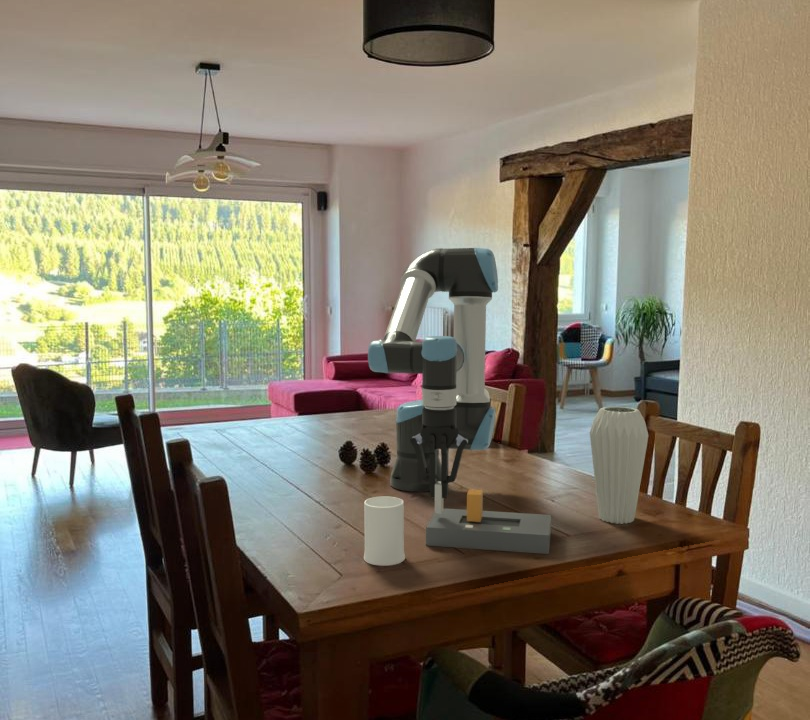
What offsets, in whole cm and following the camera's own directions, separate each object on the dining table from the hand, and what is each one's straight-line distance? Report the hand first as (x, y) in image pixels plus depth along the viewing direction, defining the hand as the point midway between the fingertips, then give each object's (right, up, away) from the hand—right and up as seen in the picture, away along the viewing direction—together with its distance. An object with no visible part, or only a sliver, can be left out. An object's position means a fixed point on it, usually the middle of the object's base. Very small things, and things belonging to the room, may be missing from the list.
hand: (439, 511), depth 176 cm
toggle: (+8, -2, -1) cm, 8 cm away
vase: (+43, -4, +12) cm, 44 cm away
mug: (-13, -7, -12) cm, 19 cm away
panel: (+11, -6, -2) cm, 13 cm away
